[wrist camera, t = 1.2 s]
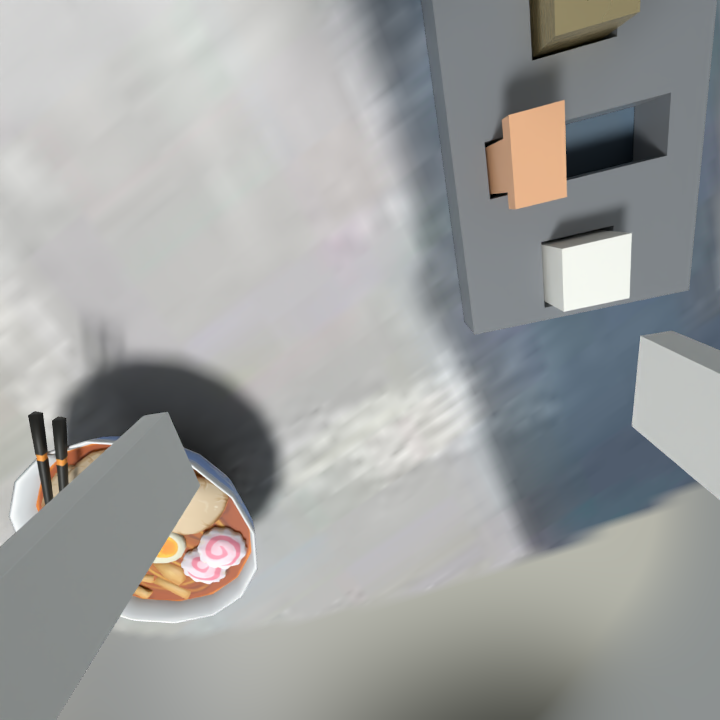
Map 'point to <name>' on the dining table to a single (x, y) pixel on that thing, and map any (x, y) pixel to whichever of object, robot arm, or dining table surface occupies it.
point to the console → (582, 101)
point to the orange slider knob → (530, 157)
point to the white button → (586, 269)
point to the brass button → (575, 23)
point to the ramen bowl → (184, 545)
